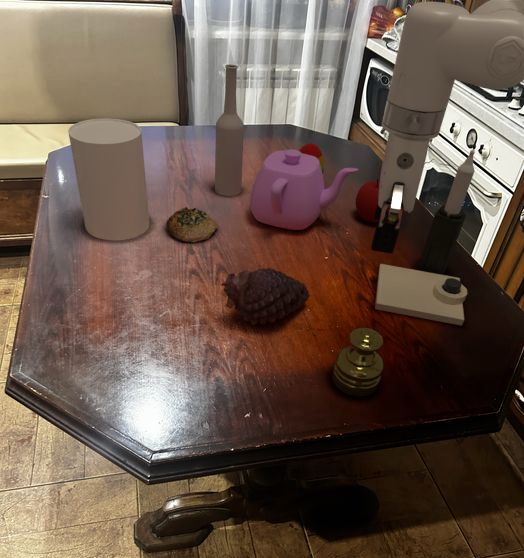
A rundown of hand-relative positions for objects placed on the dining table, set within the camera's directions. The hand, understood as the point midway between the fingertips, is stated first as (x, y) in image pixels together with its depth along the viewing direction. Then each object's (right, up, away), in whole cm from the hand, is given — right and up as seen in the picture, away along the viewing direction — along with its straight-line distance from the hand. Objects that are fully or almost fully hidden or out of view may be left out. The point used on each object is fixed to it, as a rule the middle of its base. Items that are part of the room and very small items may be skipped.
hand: (382, 234), depth 78 cm
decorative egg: (-7, +26, +57) cm, 63 cm away
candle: (+17, -1, +30) cm, 34 cm away
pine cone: (-18, -11, +14) cm, 25 cm away
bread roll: (-34, +8, +34) cm, 49 cm away
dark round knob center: (+18, -6, +20) cm, 27 cm away
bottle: (-27, +22, +50) cm, 61 cm away
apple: (+8, +14, +45) cm, 47 cm away
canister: (-50, +10, +34) cm, 61 cm away
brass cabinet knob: (-4, -23, +3) cm, 23 cm away
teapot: (-12, +14, +42) cm, 46 cm away
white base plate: (+12, -7, +22) cm, 26 cm away
